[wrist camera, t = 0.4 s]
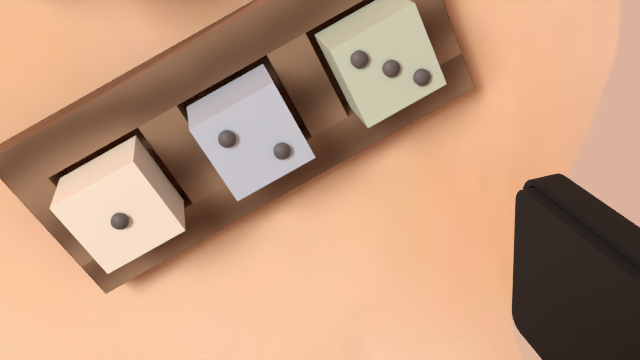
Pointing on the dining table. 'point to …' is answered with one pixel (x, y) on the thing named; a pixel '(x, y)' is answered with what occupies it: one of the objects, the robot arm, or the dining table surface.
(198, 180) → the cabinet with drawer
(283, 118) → the white die
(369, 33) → the pale green block
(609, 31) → the dining table surface
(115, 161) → the cream square block
